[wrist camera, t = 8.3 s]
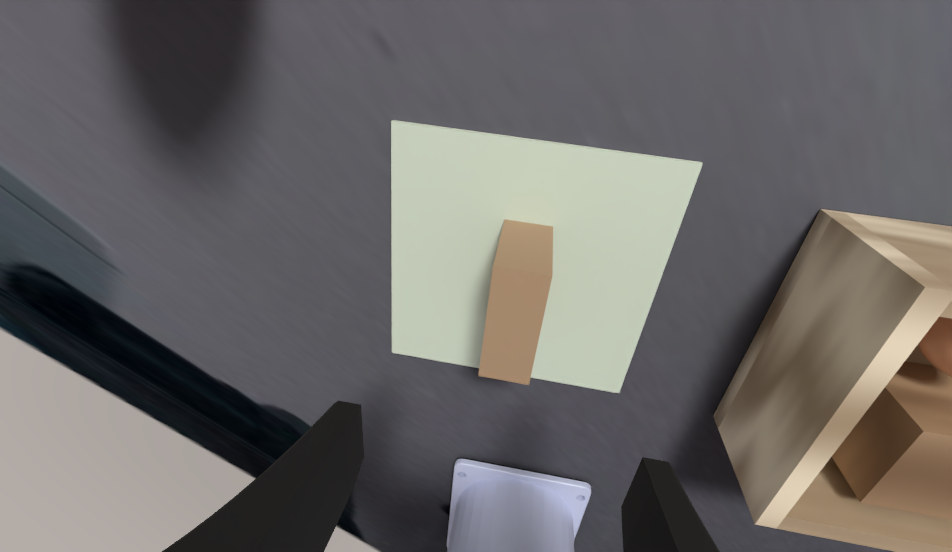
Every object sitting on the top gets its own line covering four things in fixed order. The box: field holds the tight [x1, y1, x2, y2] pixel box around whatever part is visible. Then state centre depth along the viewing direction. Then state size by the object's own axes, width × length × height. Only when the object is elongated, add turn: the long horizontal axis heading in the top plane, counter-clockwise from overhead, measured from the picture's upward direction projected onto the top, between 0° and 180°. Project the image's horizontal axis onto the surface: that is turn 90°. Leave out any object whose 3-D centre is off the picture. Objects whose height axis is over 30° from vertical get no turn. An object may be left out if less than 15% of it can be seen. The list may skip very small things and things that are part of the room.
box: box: [713, 209, 952, 552], centre depth 16 cm, size 11×11×6 cm
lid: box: [391, 120, 703, 393], centre depth 18 cm, size 12×12×5 cm
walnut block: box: [832, 361, 952, 520], centre depth 17 cm, size 4×4×4 cm
